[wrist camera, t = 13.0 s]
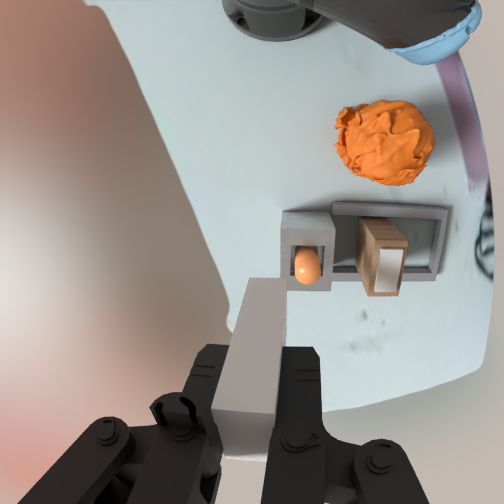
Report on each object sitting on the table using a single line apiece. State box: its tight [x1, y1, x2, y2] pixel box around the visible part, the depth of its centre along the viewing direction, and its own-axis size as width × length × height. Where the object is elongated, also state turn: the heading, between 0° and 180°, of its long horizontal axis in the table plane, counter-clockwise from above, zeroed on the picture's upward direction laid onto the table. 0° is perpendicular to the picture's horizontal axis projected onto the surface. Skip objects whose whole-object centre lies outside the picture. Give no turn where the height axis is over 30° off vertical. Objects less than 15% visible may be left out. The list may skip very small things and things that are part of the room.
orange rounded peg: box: [295, 245, 321, 285], centre depth 39 cm, size 3×3×6 cm
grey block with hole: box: [280, 211, 336, 291], centre depth 43 cm, size 9×7×8 cm
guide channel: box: [332, 202, 448, 281], centre depth 44 cm, size 12×19×2 cm, turn 91°
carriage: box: [355, 217, 408, 296], centre depth 40 cm, size 8×4×11 cm, turn 1°
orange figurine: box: [334, 100, 435, 186], centre depth 31 cm, size 11×11×18 cm
